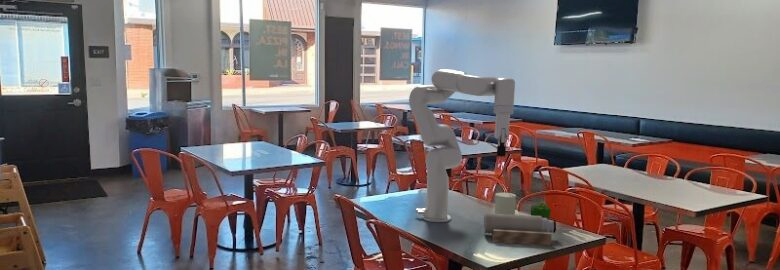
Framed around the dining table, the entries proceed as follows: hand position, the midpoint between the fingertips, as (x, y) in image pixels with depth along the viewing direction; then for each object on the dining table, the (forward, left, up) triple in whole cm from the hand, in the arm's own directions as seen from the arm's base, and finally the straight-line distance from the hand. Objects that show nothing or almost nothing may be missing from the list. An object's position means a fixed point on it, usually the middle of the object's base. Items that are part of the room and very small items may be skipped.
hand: (500, 156), depth 234 cm
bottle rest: (+9, 0, -33) cm, 34 cm away
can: (+5, +27, -33) cm, 43 cm away
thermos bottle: (-5, +1, -28) cm, 28 cm away
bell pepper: (+20, +24, -33) cm, 45 cm away
